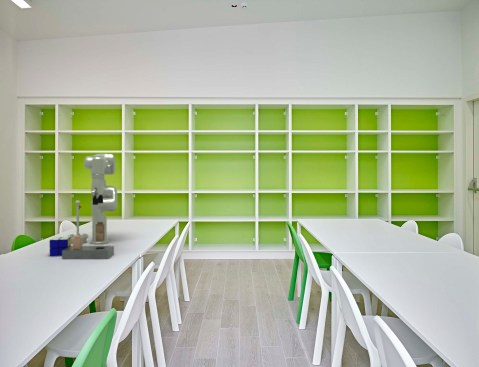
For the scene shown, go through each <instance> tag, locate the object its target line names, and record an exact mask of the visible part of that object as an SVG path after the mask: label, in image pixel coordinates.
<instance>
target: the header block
mask: <svg viewBox="0 0 479 367" xmlns="http://www.w3.org/2000/svg"><path fill="white" fill-rule="evenodd" d="M114 255H115V245H82V248H81V249H73V245H71V246H70V247H68V248H66V249H64V250H62V256H61V259H62V260H109V259H110V258H111V257H112V256H114Z"/></svg>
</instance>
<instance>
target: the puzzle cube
mask: <svg viewBox="0 0 479 367" xmlns="http://www.w3.org/2000/svg"><path fill="white" fill-rule="evenodd" d="M70 246H72V244H71V236H68V235H67V236H54V237H52V238H51V239H49V257H62V250H64V249H66V248H68V247H70Z"/></svg>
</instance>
